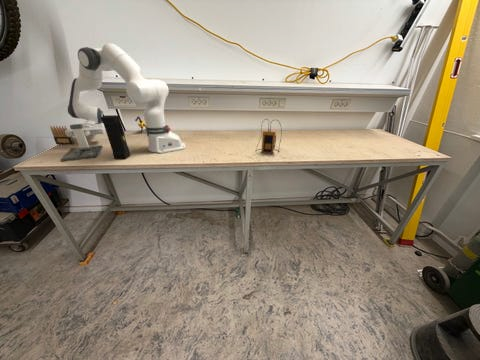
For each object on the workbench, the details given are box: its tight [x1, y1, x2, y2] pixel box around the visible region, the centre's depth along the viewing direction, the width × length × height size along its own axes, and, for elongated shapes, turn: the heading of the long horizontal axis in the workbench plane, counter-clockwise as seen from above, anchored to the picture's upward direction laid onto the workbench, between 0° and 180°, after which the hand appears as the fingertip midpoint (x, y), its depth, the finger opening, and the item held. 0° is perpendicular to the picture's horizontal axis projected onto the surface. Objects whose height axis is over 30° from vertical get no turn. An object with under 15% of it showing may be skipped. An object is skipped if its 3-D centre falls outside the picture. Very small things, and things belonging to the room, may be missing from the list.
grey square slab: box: [59, 144, 104, 163], centre depth 114 cm, size 16×18×2 cm
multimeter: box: [255, 118, 283, 154], centre depth 118 cm, size 15×10×20 cm
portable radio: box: [101, 110, 131, 160], centre depth 105 cm, size 8×6×25 cm
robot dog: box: [134, 115, 146, 134], centre depth 151 cm, size 6×18×13 cm, turn 176°
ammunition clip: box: [49, 125, 75, 146], centre depth 126 cm, size 11×2×12 cm, turn 91°
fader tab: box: [69, 123, 92, 150], centre depth 114 cm, size 5×4×14 cm
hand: (83, 134), depth 117 cm, fingers closed
